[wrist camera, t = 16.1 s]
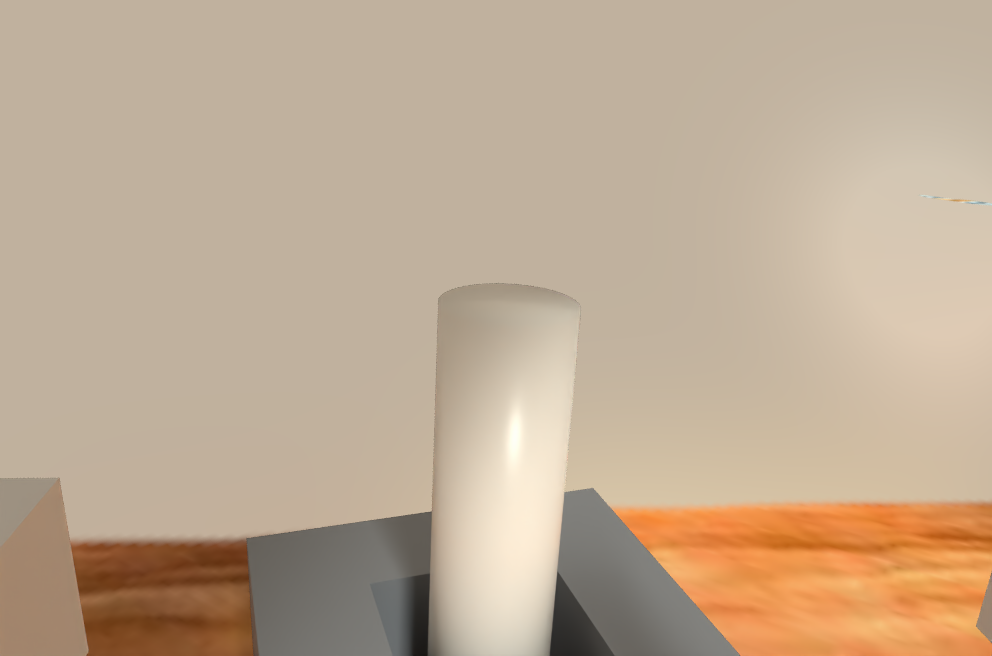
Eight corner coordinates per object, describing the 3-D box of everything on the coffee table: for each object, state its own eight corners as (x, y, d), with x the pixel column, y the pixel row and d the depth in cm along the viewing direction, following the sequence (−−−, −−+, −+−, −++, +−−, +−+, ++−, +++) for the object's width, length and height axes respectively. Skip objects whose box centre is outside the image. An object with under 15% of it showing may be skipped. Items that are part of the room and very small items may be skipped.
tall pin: (515, 705, 27) (547, 280, 22) (557, 793, 24) (605, 321, 19) (412, 729, 26) (422, 286, 21) (442, 825, 23) (462, 331, 18)
